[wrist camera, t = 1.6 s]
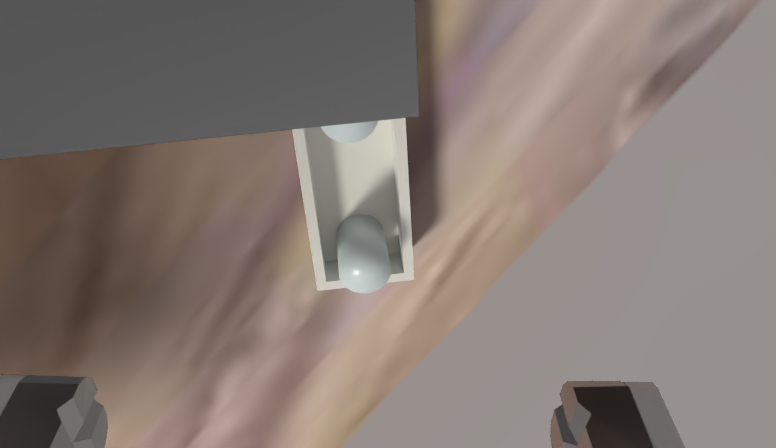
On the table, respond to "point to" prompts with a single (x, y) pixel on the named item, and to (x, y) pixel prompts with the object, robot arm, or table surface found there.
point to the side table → (197, 69)
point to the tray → (357, 203)
